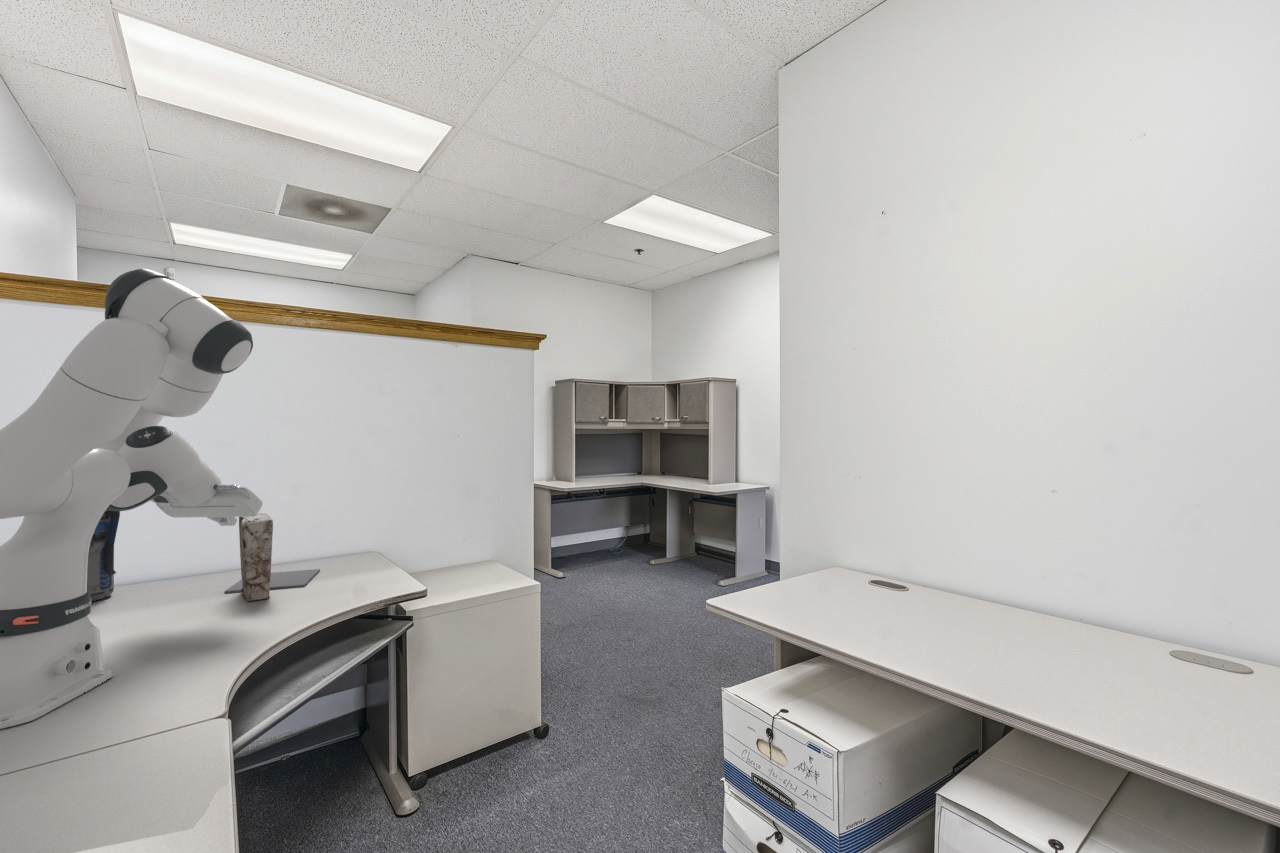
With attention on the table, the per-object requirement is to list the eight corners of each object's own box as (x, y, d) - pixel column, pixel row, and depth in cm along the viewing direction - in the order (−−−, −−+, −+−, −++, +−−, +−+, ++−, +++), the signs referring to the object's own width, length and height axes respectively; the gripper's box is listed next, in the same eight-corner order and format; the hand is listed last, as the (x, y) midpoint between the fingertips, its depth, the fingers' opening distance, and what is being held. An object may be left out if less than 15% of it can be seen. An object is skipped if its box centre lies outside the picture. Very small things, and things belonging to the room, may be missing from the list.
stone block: (278, 596, 137) (277, 517, 136) (244, 604, 132) (243, 521, 131) (264, 584, 146) (263, 510, 145) (232, 590, 141) (231, 513, 140)
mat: (304, 586, 146) (304, 584, 146) (224, 593, 140) (224, 591, 140) (319, 570, 163) (319, 568, 163) (248, 576, 157) (248, 574, 157)
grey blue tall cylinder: (97, 605, 131) (98, 501, 131) (39, 606, 130) (40, 502, 131) (134, 593, 141) (135, 496, 142) (80, 594, 141) (81, 497, 141)
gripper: (249, 474, 121) (279, 511, 131) (158, 475, 121) (195, 513, 131) (234, 496, 116) (266, 534, 126) (139, 498, 117) (179, 535, 126)
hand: (229, 523), depth 129 cm, fingers closed
